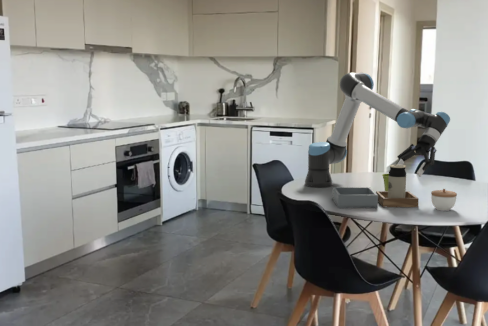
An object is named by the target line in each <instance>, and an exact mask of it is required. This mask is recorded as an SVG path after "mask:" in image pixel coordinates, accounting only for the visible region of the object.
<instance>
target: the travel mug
mask: <svg viewBox="0 0 488 326" xmlns="http://www.w3.org/2000/svg"><path fill="white" fill-rule="evenodd" d="M406 167H407V165H405V164H403V165H397V164H390V165H389V168H390V170H388V174H389V179H388V198H405V192H406V191H407V189H406V188H407V187H406V186H407V171H406Z"/></svg>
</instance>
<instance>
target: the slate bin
mask: <svg viewBox="0 0 488 326" xmlns="http://www.w3.org/2000/svg"><path fill="white" fill-rule="evenodd" d="M332 200H333V202H334V204H335V206H336V207H337V209H378V206H379V205H378V204H379V202H378V195H377V194H376V191H374V190H373V189H372V188H371V187H369V186H363V187H361V186H358V187H355V186H354V187H353V186H352V187H351V186H347V187H345V186H343V187H341V186H338V187H337V186H336V187H335V186H334V187H332Z"/></svg>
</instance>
